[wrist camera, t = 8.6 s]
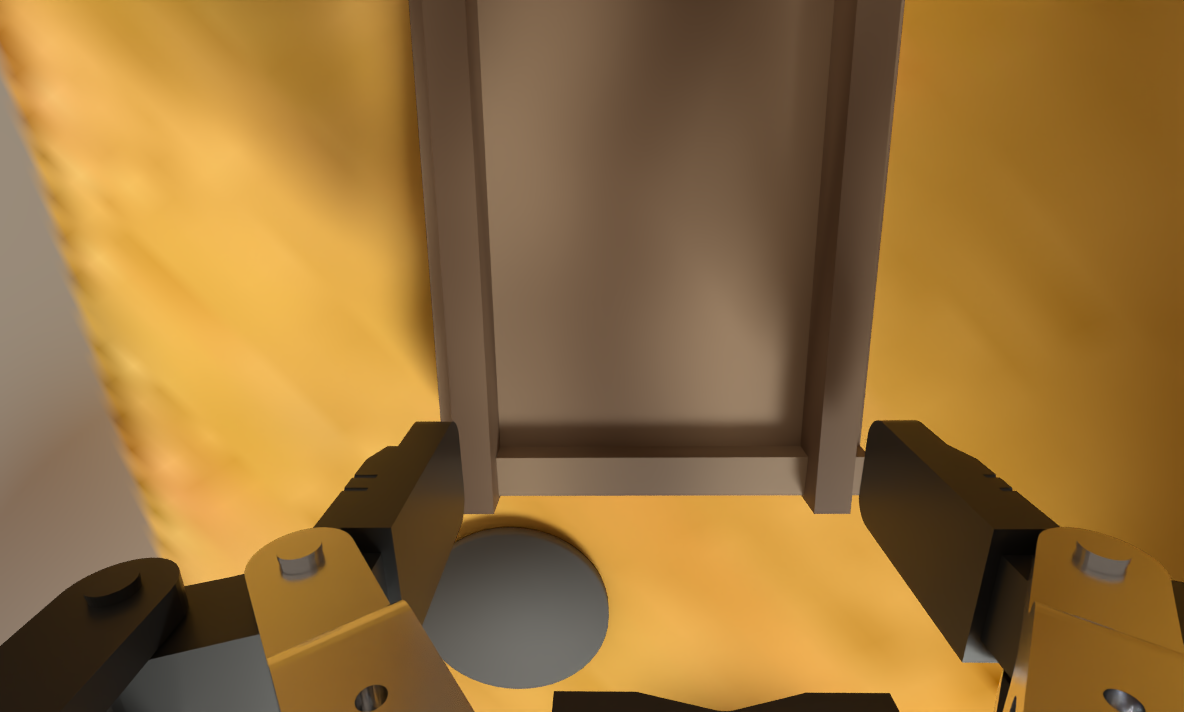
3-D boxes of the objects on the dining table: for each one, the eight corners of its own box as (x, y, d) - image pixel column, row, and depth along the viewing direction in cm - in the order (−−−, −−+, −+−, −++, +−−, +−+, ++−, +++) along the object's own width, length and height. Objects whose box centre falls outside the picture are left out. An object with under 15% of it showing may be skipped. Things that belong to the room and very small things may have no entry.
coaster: (608, 527, 18) (608, 534, 18) (608, 679, 20) (608, 689, 20) (412, 527, 18) (408, 534, 18) (432, 678, 20) (429, 688, 20)
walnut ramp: (876, -54, 13) (982, -136, 9) (816, 438, 17) (876, 517, 13) (427, -44, 13) (358, -121, 10) (469, 439, 17) (433, 518, 13)
